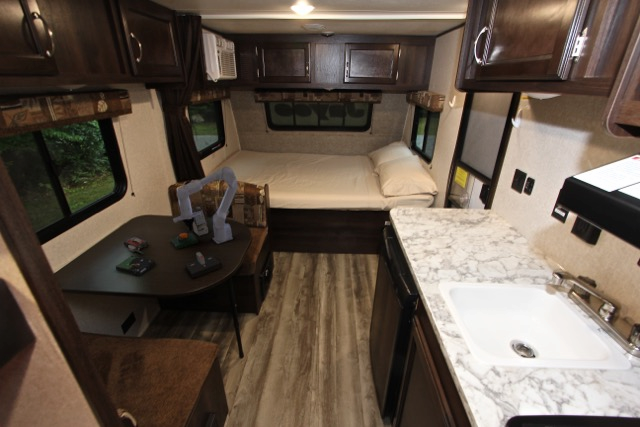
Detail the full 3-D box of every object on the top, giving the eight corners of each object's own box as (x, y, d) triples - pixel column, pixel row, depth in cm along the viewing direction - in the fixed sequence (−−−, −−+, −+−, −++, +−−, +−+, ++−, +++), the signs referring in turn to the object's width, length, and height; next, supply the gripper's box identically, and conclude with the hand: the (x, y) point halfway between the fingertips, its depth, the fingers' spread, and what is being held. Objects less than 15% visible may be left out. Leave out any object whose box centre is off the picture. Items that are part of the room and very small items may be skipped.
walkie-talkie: (120, 247, 165) (142, 256, 157) (118, 240, 163) (140, 249, 155) (135, 240, 172) (157, 249, 164) (133, 233, 170) (155, 242, 162)
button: (186, 234, 171) (185, 232, 171) (188, 237, 169) (187, 234, 168) (179, 236, 169) (178, 234, 168) (181, 239, 166) (180, 236, 166)
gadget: (211, 257, 157) (210, 252, 156) (220, 267, 149) (220, 262, 147) (184, 267, 149) (183, 262, 147) (193, 278, 140) (191, 273, 139)
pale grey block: (197, 259, 150) (195, 252, 148) (200, 258, 151) (199, 251, 149) (201, 265, 145) (200, 257, 144) (205, 263, 147) (203, 256, 145)
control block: (192, 236, 177) (191, 230, 176) (198, 242, 171) (197, 236, 169) (171, 242, 170) (170, 236, 169) (176, 249, 164) (175, 243, 162)
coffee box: (209, 232, 181) (205, 209, 174) (198, 236, 177) (194, 212, 170) (203, 227, 187) (199, 204, 181) (193, 230, 183) (188, 207, 177)
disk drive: (156, 265, 150) (133, 259, 154) (154, 260, 149) (132, 255, 153) (139, 276, 141) (115, 270, 145) (138, 272, 140) (114, 266, 144)
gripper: (174, 214, 152) (179, 236, 158) (201, 207, 161) (205, 228, 166) (170, 209, 157) (175, 231, 163) (197, 203, 165) (201, 224, 171)
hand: (190, 230), depth 165 cm, fingers closed
